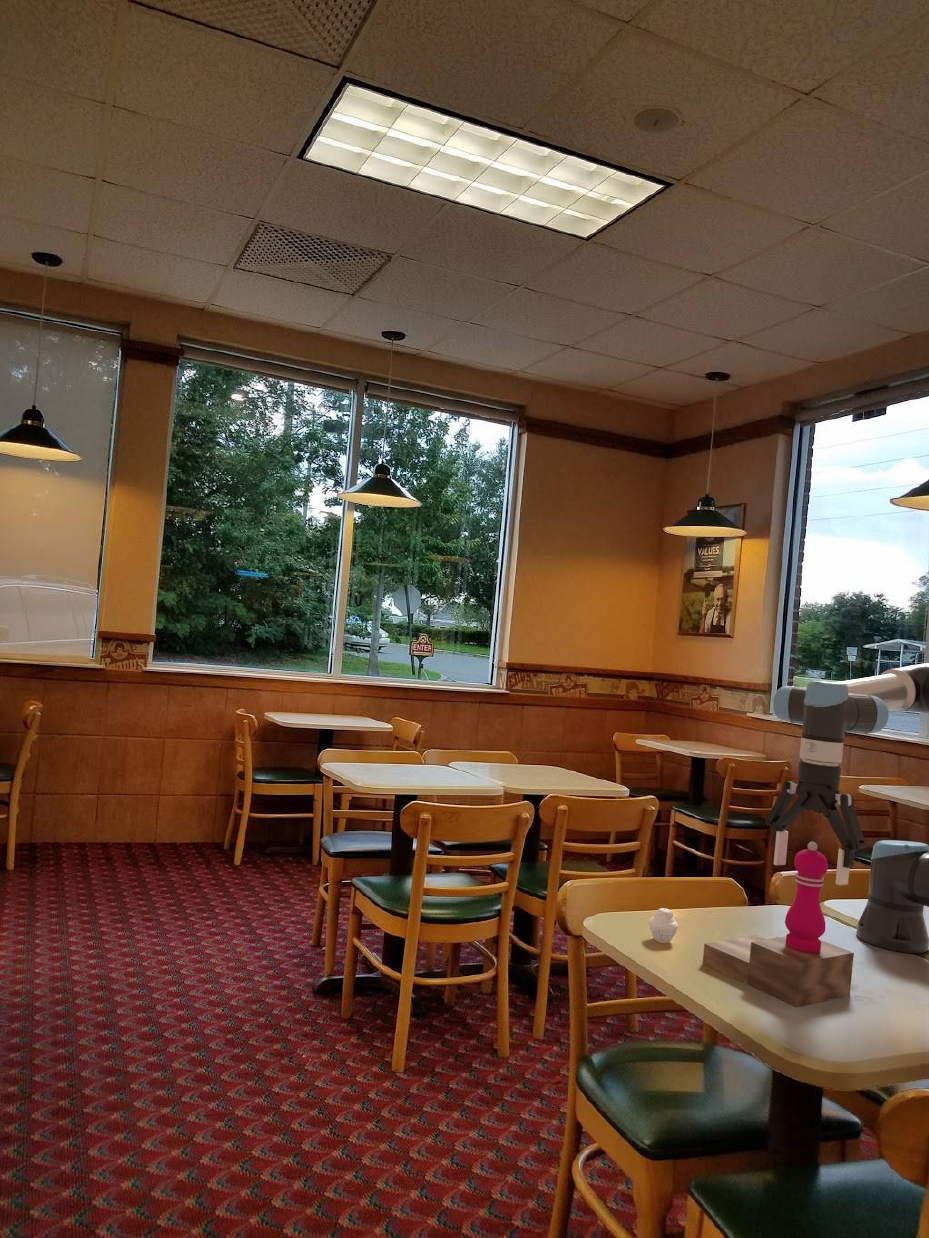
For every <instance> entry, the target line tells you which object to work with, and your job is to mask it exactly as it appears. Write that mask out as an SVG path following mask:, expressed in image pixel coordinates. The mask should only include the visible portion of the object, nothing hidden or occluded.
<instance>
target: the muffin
mask: <svg viewBox="0 0 929 1238" xmlns="http://www.w3.org/2000/svg"><path fill="white" fill-rule="evenodd" d="M648 925H649V930H650V932H651V935H652V937H653V940H654V941H655V940H656V941H655V942H657V941H658V942H657V943H660V942H662V943H661V944H670V943H671V941H672V940H673V938H674V937H675V935H676V934H677V931H678V929H679V924H678V922H677V920H675V917H674V913H673V912H672V910H671V909H668V908H666V907H664V908H663V907H661V908H658V909H657V910H656V912H655V914H654V915H653V916H652V917H650V919H649V920H648ZM669 942H670V943H669Z"/></svg>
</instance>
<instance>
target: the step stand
mask: <svg viewBox="0 0 929 1238" xmlns="http://www.w3.org/2000/svg"><path fill="white" fill-rule="evenodd" d="M819 940H820V941H821V951H820V952H818V953H806V952H801V951H797V950H794V949H792V948H790V947H788V946H787V945H786V936H781V937H774V938H767V939H766V938H765V937H761V936H759V935H751V936H744V937H739V938H731V939H726V940H724V939H723V940H717V941H712V942H706V943H703V954H702V956H703V957H702V964H703V965H705V966H707V967H709V968H711V969H714V970H715V971H717V972H720V973H722V974H724V975H727V976H729V977H731V978H733V979H735V980H737V981H739V982H741V983H744V984H746V985H748V986H750V987H752V988H755V989H757V990H759V991H761V992H763V993H765V994H767V995H770V996H772V997H774V998H776V999H779V1000H780V1001H782V1002H785V1003H787V1004H790V1005H791V1006H793V1007H795V1008H799V1007H803V1006H808V1005H813V1004H817V1003H821V1002H822V1003H823V1002H827V1001H830V1000H834V999H839V998H844V997H849V996H851V989H852V988H851V986H852V976H853V968H854V967H853V965H854V957H855V956H854V955H855V952H853V951H850V950H847V949H845V948H843V947H840V946H837V945H834V944H833V943H829V942H827V941H824V940H821V939H819Z"/></svg>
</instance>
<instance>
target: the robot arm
mask: <svg viewBox="0 0 929 1238" xmlns="http://www.w3.org/2000/svg"><path fill="white" fill-rule="evenodd" d="M772 705H773V706H772V709H773V712H774V715H775V716H776V717H777V718H778V719H779V720H781V721H785V722H788V723H790V724H800V725H802V732H801V736H800V737H801V739H800V748H799V758H800V759H802V760H800V761H799V762H798V767H797V769H798V770H797V779H798V783H796V781H794V780H792V781H790V780H789V781H783V784H782V789H781V792H780V794H779V795H778V797H777V799H776V801H775V802H774V804H773V806H772V808H771V810H770V812H769V813H768V815H767V816H766V818H765V821H764V822H765V824H766V825H767V826H769V827H771V828H772V830H773V835H772V846H773V847H774V853H773V855H774V856H773V865H774V866H785V865H786V863H787V853H788V842H789V841H788V840H789V831H787V827H789V826H790V824H792V823H793V822H794V820H795V819H796V818H797V817H799V815H801V814H802V813H803V812H804V811H813V812H814V813H818V814H822V815H823V816H824V818H826V819H827V821H828V823H829V824H830V826H831V829H833V832H834V833H835V835H836V837H837V838H838V839H837V840H838V841H839V842H840V845H841V846H842V847H840V848H838V855H837V864H836V876H835V885H837V886H845V885H847V886H848V885H849V877H850V868H851V869H853V867H854V866H855V855H856V854H855V852H856V851H857V850H859V849H861V850H862V849H866V847H867V842H866V840H865V837H864V834H863V831H862V828H861V824H860V822H859V819H858V815H857V813H856V810H855V804H854V803H855V801H854V799H855V798H854V795H853V794H851V793H846V794H845V793H843V794H842V793H840V794H839V790H838V788H839V786H840V784H841V783H840V782H841V774H842V773H841V772H842V768H841V766H840V764H841V763H843V753H844V752H843V751H844V736H845V733H853V734H854V733H857V734H864V735H868V734H875V733H878V732H880V731H882V730H883V729H884V728H885V726H887V723H888V720H889V717H890V716H889V711H893V712H903V711H910V712H916V713H923V714H929V663H928V662H926V663H920V664H911V665H907V666H902V667H896V668H890V669H887V670H885V671H884V672H882V673H881V674H880V675H873V676H869V677H862V678H855V679H850V680H843V681H837V682H834V681H824V680H813V679H812V680H810V681H809V682H808V683H807V684H806V686H796V685H792V686H791V685H784V686H781V687H780V688H778V689H777V691H776V692H775V694H774V696H773V700H772ZM795 794H797V796H798V798H797V799H795V800H794V801H793V802H792V805H791V806H790V807H789V804H790V803H791V801H792V800H793V798H794V796H795ZM836 803H837V804H838V805H839V806H840V810H839V809H838V806H837V805H836ZM788 807H789V808H788ZM787 808H788V809H787ZM840 812H841V813H840ZM840 814H841V815H842V816H841V815H840ZM868 882H869V883H868V884H869V885H868V895H867V901H866V905H865V907H864V910H862V913H861V916H860V918H859V920H858V921H857V925H856V933H855V934H856V936H857V937H858V938H859V939H860V940H862V941H864V942H866V943H868V944H871V945H872V946H875V947H879V948H883V949H885V950H890V951H895V952H902V953H911V954H921V953H923V954H924V953H926V951H927V950H928V948H929V934H928V933H929V932H928V928H927V924H926V921H925V917H924V916H925V915H924V907H927V908H929V844H927V843H924V842H917V841H909V840H896V839H895V840H893V839H892V840H891V839H890V840H889V839H888V840H886V839H885V840H878V841H876V842H875V843H874V845H873V846H872V853H871V857H870V871H869V880H868ZM928 951H929V950H928ZM928 951H927V952H928Z"/></svg>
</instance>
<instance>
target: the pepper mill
mask: <svg viewBox="0 0 929 1238" xmlns="http://www.w3.org/2000/svg"><path fill="white" fill-rule="evenodd" d="M818 848H819V847H818V844H817V843H816V842H814V841H809V843H808V844H807V849H802V850H800V851H798V852H797V853H796V854H795V857H794V860H793V863H794V864H793V865H794V868H795V870H796V871H797V873H795V879H794V880H795V882H796V883H797V884H796V885H797V889H796V895H795V897H794V899H793V902H792V903H791V905H790V907H789V909H788V910H787V913H786V914H785V920H784V924H785V927H786V929H787V930H788V933H786V935H785V937H786V945H787V946H788V947H790V948H792V949H794V950H797V951H801V952H806V953H818V952H820V951H821V941H820V940H821V939H820V938H821V937H822V936H823V935H824V934H825V932H826V918H825V916H824V913H823V911H822V907H821V902H820V892H821V887H823V886H824V881H825V879H824V877H823V876H824V875H825V874H826V873H827V872H828V869H829V863H828V860H827V857H826V856H825V855H824V854H823V853H822V852H820V851H818Z"/></svg>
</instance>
